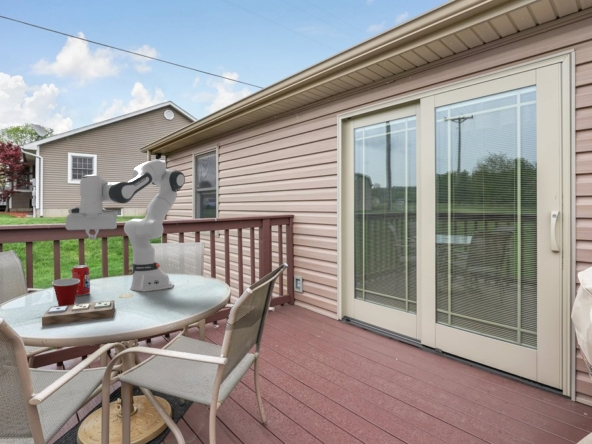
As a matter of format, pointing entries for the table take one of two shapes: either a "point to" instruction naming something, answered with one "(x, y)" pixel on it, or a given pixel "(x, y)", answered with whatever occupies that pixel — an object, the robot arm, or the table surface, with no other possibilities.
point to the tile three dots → (81, 307)
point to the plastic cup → (66, 290)
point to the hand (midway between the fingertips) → (92, 239)
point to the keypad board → (78, 314)
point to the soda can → (82, 279)
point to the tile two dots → (103, 304)
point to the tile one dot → (57, 309)
